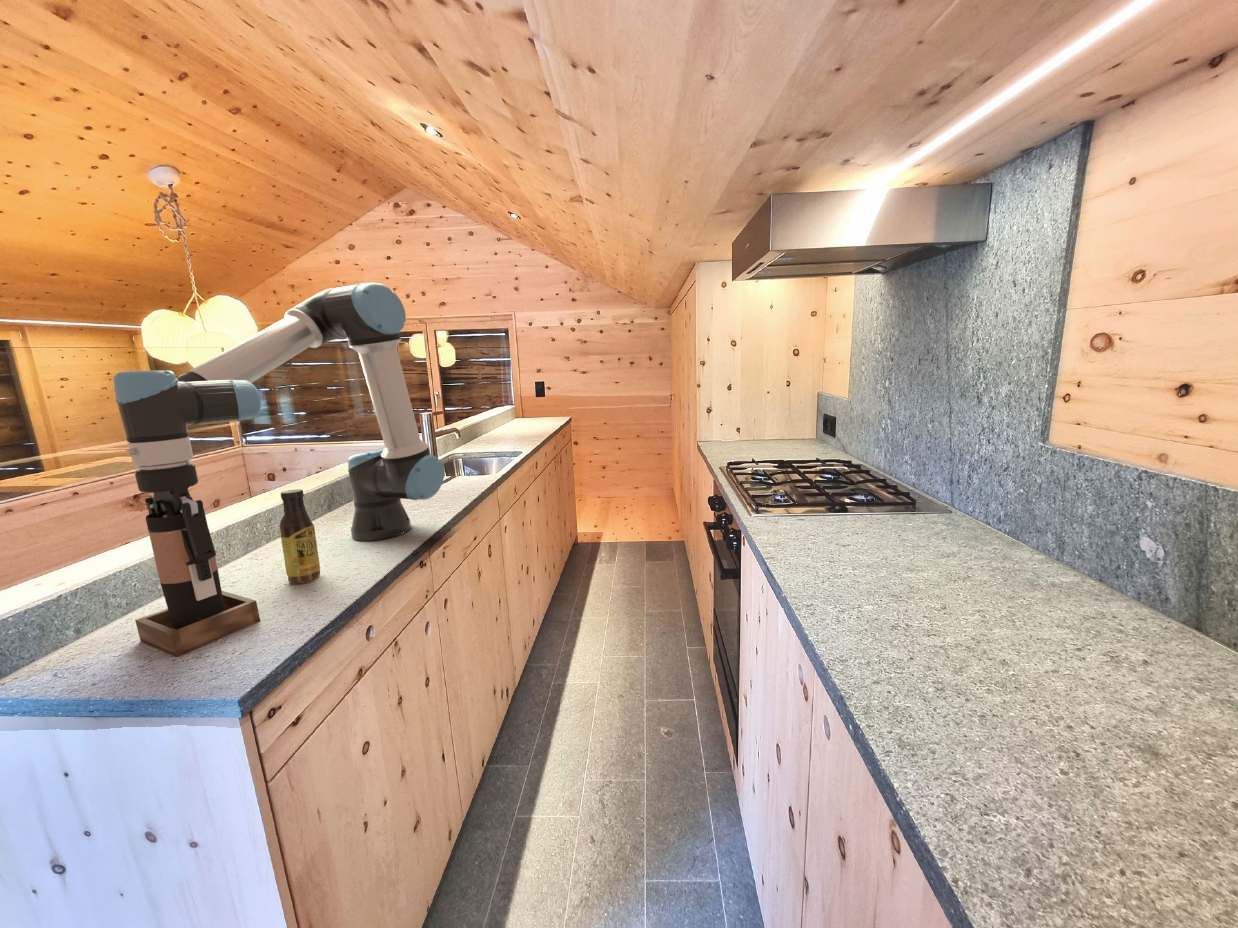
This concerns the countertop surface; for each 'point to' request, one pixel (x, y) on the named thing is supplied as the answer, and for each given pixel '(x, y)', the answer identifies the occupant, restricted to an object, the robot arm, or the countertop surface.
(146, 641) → the rectangular wooden tray
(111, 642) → the countertop surface
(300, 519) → the sauce bottle
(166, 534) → the travel mug
